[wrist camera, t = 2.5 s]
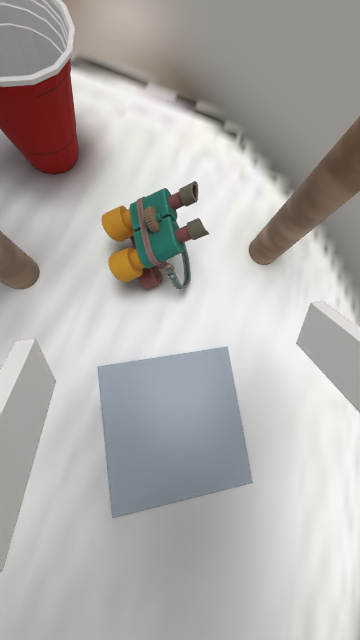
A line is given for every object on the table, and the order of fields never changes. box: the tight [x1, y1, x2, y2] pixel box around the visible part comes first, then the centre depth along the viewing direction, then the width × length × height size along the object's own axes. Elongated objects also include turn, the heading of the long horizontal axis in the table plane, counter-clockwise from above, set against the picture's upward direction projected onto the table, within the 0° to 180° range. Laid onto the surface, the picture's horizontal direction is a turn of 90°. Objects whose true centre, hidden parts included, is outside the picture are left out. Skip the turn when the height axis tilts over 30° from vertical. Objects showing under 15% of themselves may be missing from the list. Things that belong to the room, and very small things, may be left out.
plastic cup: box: [0, 0, 78, 174], centre depth 23 cm, size 11×11×12 cm
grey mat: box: [98, 347, 253, 518], centre depth 25 cm, size 14×14×1 cm
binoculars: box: [102, 181, 209, 290], centre depth 24 cm, size 9×9×10 cm
